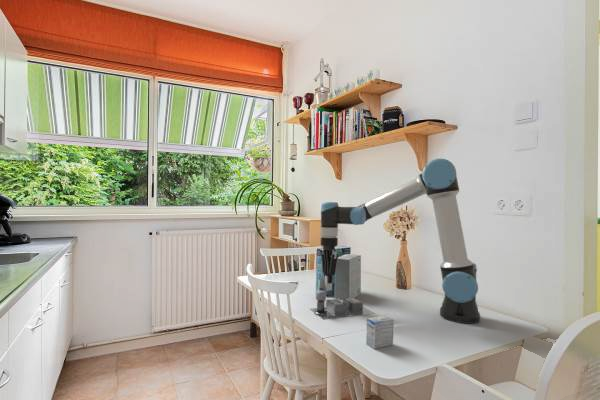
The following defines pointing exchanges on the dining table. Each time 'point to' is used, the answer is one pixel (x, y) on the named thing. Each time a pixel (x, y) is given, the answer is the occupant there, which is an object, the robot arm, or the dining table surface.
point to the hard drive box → (348, 276)
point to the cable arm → (321, 290)
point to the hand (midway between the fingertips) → (328, 290)
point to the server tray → (326, 314)
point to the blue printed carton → (319, 271)
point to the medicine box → (379, 332)
